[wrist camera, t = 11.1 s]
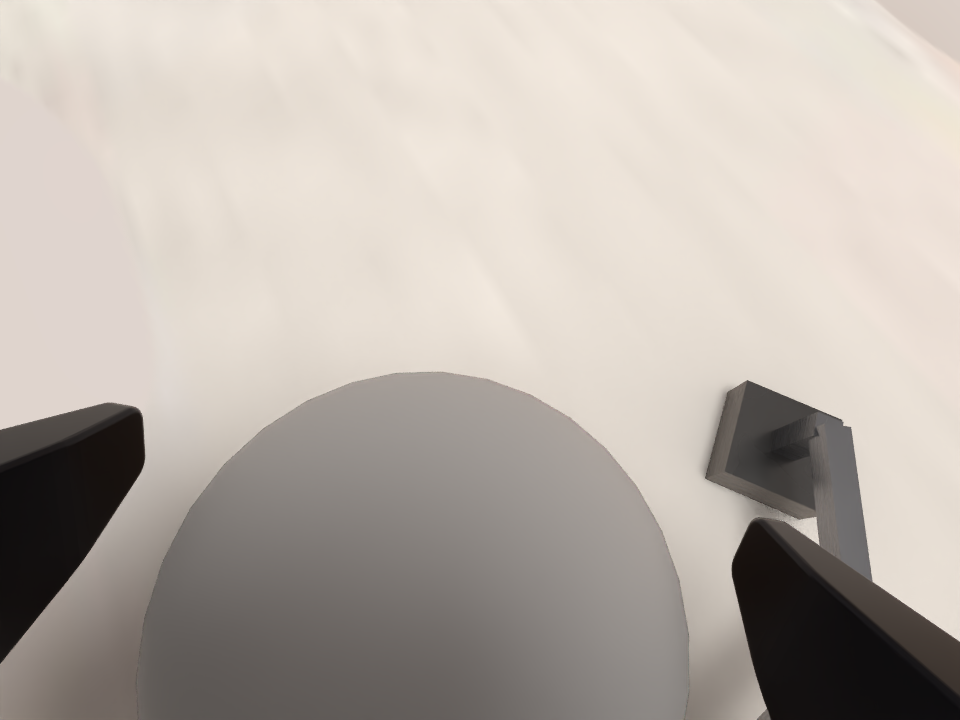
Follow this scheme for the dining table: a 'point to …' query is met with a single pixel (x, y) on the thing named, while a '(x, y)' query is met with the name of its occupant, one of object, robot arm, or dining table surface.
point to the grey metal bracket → (793, 467)
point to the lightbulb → (417, 570)
